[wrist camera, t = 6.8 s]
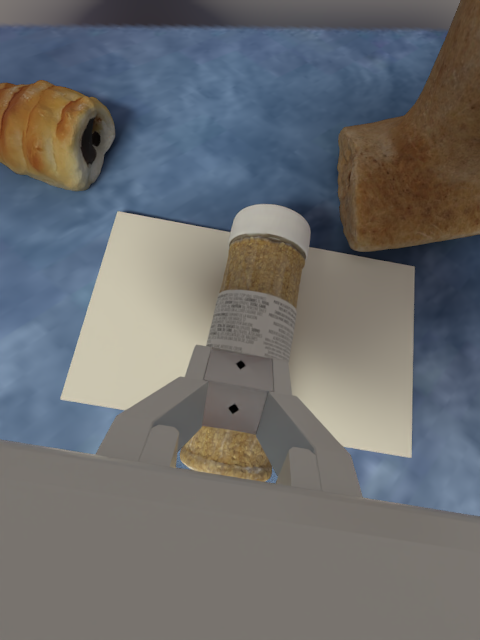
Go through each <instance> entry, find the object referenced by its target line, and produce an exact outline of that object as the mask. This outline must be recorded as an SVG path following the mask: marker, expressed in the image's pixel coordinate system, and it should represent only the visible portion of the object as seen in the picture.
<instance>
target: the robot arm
mask: <svg viewBox="0 0 480 640" xmlns="http://www.w3.org/2000/svg"><path fill="white" fill-rule="evenodd" d="M202 426H206V427H214V428H221V429H228V430H234V431H239V432H244V433H249V434H254V435H256V437H257V439H258V441H259V443H260V445H261V447H262V448H263V450H264V452H265V454H266V456H267V458H268V460H269V461H270V463H271V465H272V467H273V469H274V471H275V472H276V474H277V476H278V479H277V481H276V484H275V483H268V482H262V481H256V480H250V479H243V478H237V477H231V476H225V475H219V474H212V473H206V472H200V471H194V470H187V469H181V468H176V459H177V452H178V451H179V450H180V449H181V448H182V447H183V446H184V445H185V444H186V443H187V442H188V441H189V440H190V439H191V438H192V437H193V436H194V435H195V434H196V433H197V432H198V431H199V430H200V429H201V428H202ZM0 640H480V516H474V515H467V514H461V513H455V512H449V511H442V510H436V509H430V508H424V507H418V506H411V505H405V504H399V503H393V502H387V501H380V500H374V499H368V498H363V497H362V493H361V490H360V486H359V483H358V479H357V476H356V472H355V469H354V465H353V461H352V458H351V455H350V454H349V453H348V452H347V451H346V449H345V448H344V447H343V446H342V445H341V444H340V443H339V442H338V441H337V440H336V439H335V437H334V436H333V435H332V434H331V433H330V432H329V431H328V430H327V429H326V428H325V426H324V425H323V424H322V423H321V422H320V421H319V420H318V419H317V418H316V417H315V415H314V414H313V413H312V412H311V411H310V410H309V409H308V408H307V407H306V406H305V404H304V403H303V402H302V401H301V400H300V399H299V398H298V397H297V396H293V395H292V389H291V381H290V373H289V365H288V361H287V360H284V359H277V358H267V357H261V356H255V355H249V354H243V353H239V352H234V351H229V350H224V349H219V348H214V347H212V348H211V347H208V346H202V345H197V344H196V346H195V347H194V350H193V353H192V356H191V359H190V362H189V365H188V368H187V371H186V374H185V377H181V376H180V377H178V378H176V379H175V380H173V381H172V382H170V383H168V384H167V385H165V386H164V387H162V388H160V389H159V390H157V391H156V392H154V393H152V394H151V395H149V396H148V397H146V398H144V399H143V400H141V401H140V402H138V403H136V404H135V405H133V406H132V407H130V408H128V409H127V410H125V411H124V412H122V413H120V414H119V415H117V416H116V418H115V419H114V421H113V423H112V425H111V427H110V429H109V431H108V432H107V434H106V436H105V438H104V440H103V442H102V443H101V445H100V447H99V449H98V451H97V453H96V455H94V454H88V453H81V452H75V451H69V450H63V449H57V448H50V447H44V446H38V445H32V444H25V443H19V442H13V441H7V440H0Z"/></svg>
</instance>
